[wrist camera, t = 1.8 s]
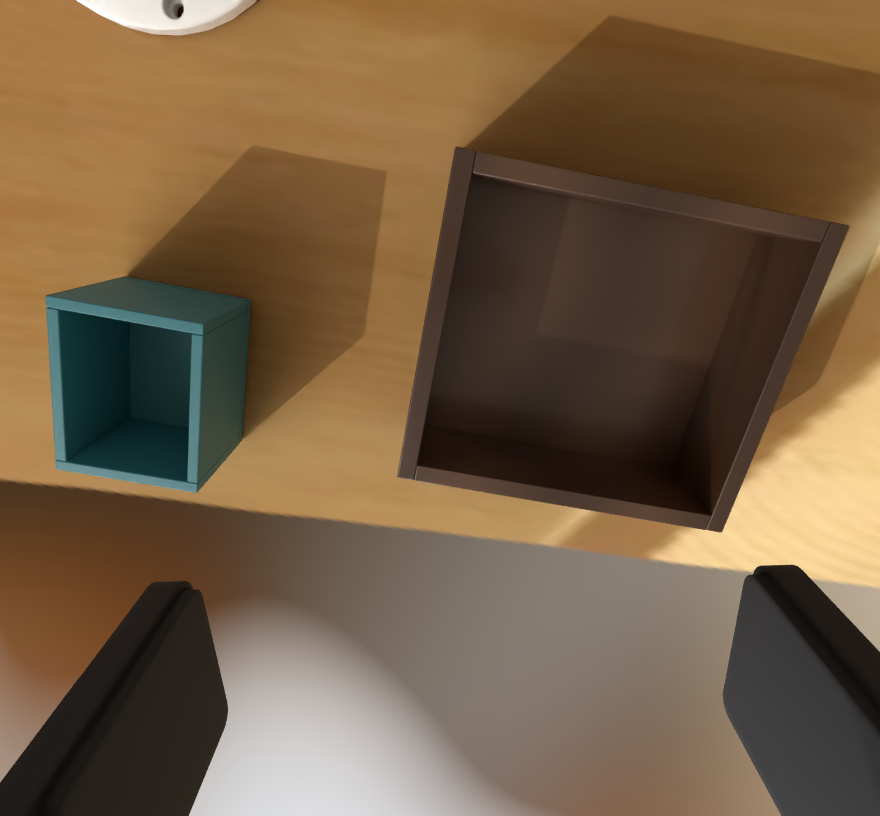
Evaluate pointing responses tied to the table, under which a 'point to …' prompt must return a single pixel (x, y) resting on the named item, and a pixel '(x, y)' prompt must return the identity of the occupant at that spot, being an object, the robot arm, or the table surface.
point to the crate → (606, 340)
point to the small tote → (147, 380)
